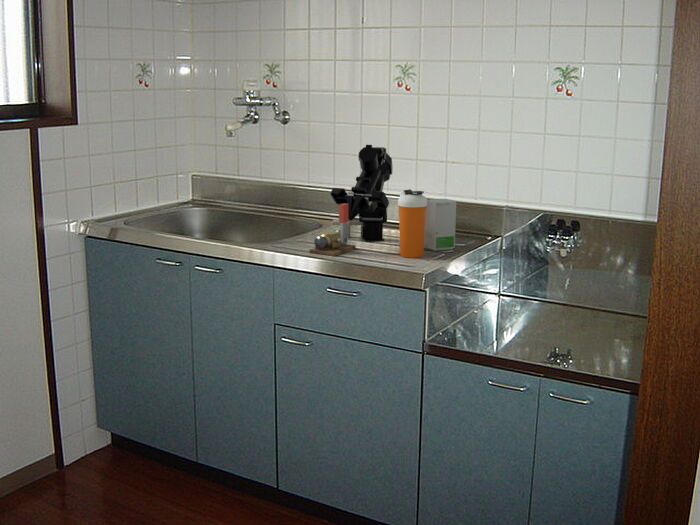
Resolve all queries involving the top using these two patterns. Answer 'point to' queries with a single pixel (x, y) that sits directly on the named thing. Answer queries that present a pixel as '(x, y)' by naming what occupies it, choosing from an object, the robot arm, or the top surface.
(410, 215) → the shaker bottle
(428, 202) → the skincare box
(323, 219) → the top surface
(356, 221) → the pipe connector
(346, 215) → the valve lever
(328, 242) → the valve stand
